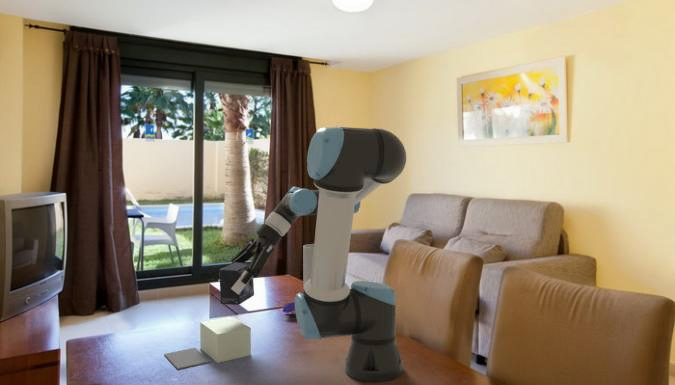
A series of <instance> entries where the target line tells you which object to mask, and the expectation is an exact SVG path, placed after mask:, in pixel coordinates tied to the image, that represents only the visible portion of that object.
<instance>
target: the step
mask: <svg viewBox="0 0 675 385" xmlns="http://www.w3.org/2000/svg"><path fill="white" fill-rule="evenodd" d="M199 328H200V329H199V331H200V335H199V336H200V339H199V340H200V349H201V351H203V353H205V354H207V355H208V356H209V357H210V358H211V359H212V360H213V361H215V362H216V363H217V364H219V363H223V362H228V361H232V360H236V359H241V358H245V357H249V356H251V355H252V346H251V345H252V344H251V343H252V340H251V339H252V337H251V336H252V335H251V332H252V331H251V330H252V329H251V327H250V326H248V325H246V324H245V323H243V322H242V321H240V320H238V319H236V318H235V317H233V316H228V317H221V318H217V319H211V320H205V321H200V324H199Z"/></svg>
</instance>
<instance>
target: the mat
mask: <svg viewBox="0 0 675 385" xmlns="http://www.w3.org/2000/svg"><path fill="white" fill-rule="evenodd" d="M163 355H164V357H165V359H167V360H168V361H169V362H170V363H171V364H172V366H174V367H175V368H176V370H177V371H179V370H182V369H183V370H184V369H187V368H190V367H197V366H200V365H205V364H210V363H211V360H210V359H209V358H207V356H205V355H204V354H203V353H202V352H201V351H200V350H199V349H197V348H196V347H191V348H186V349H181V350H177V351H173V352H167V353H164V354H163Z"/></svg>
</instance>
